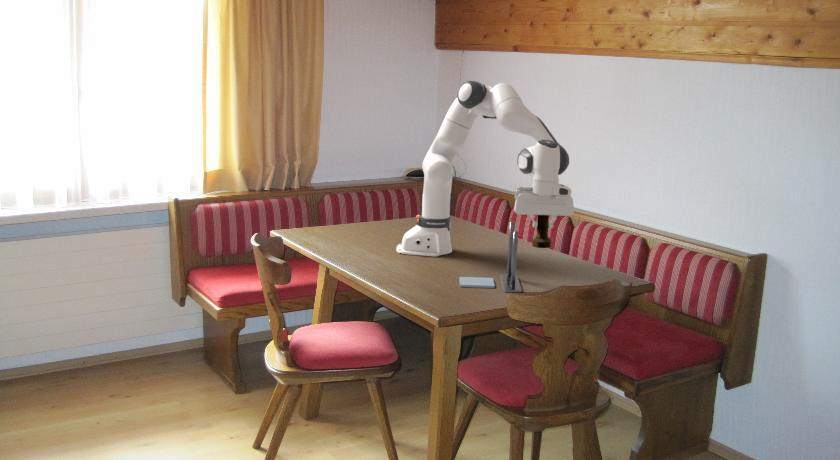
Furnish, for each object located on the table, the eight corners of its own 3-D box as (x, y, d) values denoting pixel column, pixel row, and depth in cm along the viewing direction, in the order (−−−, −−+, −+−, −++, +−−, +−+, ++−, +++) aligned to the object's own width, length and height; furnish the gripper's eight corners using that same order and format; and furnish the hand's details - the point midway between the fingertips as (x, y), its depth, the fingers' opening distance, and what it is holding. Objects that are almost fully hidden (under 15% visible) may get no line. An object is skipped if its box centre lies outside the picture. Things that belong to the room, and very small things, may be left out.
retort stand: (504, 292, 294) (507, 232, 289) (500, 277, 312) (503, 220, 308) (521, 293, 294) (525, 233, 289) (516, 277, 312) (520, 221, 308)
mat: (460, 287, 298) (460, 284, 298) (459, 278, 308) (459, 276, 308) (494, 288, 298) (494, 285, 298) (492, 280, 308) (492, 277, 308)
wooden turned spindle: (537, 242, 304) (540, 192, 300) (554, 245, 301) (557, 195, 297) (528, 246, 299) (531, 195, 295) (545, 249, 295) (548, 197, 291)
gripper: (515, 188, 292) (513, 228, 295) (576, 190, 292) (573, 230, 295) (514, 185, 298) (511, 224, 301) (573, 187, 298) (570, 226, 301)
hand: (542, 227), depth 298 cm, fingers closed on wooden turned spindle, 4 cm apart
